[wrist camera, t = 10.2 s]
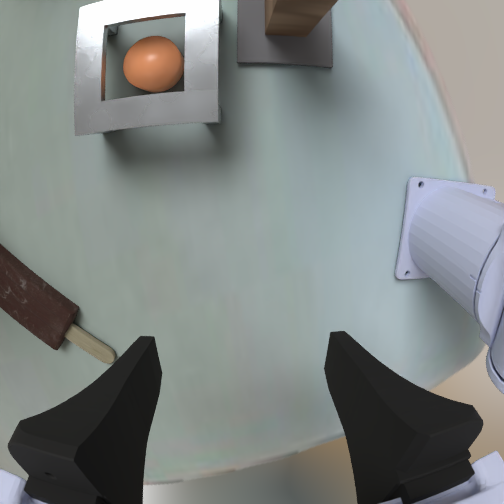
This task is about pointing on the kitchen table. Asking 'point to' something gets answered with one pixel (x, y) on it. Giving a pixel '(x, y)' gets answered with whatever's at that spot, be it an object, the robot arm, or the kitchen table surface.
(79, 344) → the ice cream bar
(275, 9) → the stylus stick
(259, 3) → the pad
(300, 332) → the kitchen table surface
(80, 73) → the guard frame
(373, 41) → the kitchen table surface
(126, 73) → the button
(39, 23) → the kitchen table surface
